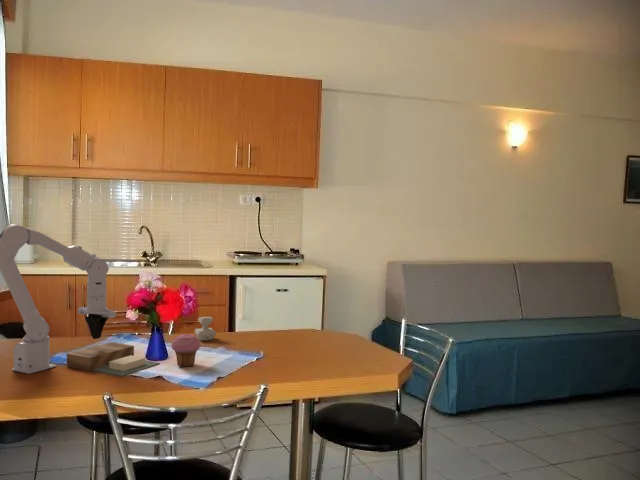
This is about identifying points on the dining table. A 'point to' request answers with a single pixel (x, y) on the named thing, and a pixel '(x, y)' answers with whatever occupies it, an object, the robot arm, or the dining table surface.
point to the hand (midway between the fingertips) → (96, 338)
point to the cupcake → (185, 349)
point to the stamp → (205, 329)
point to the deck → (98, 355)
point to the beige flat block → (127, 363)
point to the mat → (121, 373)
